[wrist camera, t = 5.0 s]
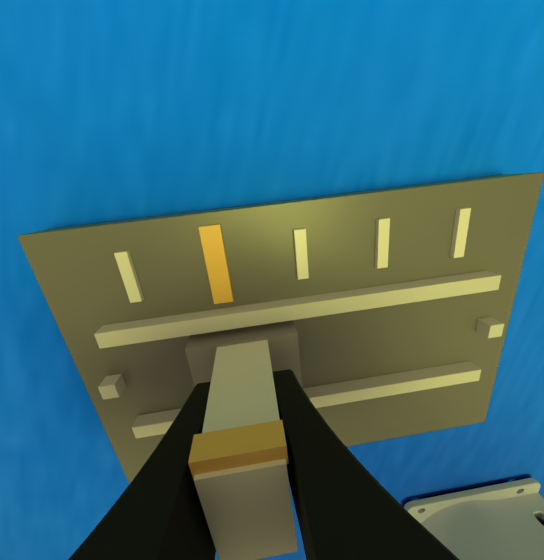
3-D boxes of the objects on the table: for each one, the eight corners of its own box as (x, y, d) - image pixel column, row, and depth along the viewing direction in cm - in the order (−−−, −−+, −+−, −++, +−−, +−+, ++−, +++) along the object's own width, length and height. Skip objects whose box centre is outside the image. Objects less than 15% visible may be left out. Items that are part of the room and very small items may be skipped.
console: (504, 174, 11) (564, 170, 9) (461, 399, 15) (495, 432, 13) (50, 228, 9) (-1, 239, 8) (142, 454, 14) (124, 499, 12)
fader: (291, 313, 10) (340, 441, 5) (298, 383, 11) (343, 544, 6) (189, 328, 10) (129, 478, 5) (206, 398, 11) (174, 578, 6)
